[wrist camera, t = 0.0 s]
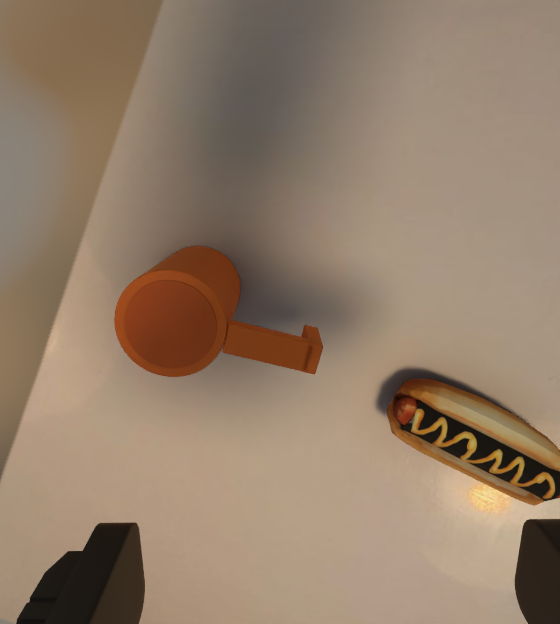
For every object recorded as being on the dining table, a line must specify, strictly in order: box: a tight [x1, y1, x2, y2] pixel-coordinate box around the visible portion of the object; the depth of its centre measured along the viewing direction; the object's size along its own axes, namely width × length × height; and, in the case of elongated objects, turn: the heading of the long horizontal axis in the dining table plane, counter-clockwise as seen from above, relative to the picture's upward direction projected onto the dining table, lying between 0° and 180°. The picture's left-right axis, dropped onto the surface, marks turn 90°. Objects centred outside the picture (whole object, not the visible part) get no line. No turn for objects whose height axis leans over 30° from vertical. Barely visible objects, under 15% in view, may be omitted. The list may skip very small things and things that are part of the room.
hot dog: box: [387, 379, 560, 505], centre depth 32 cm, size 5×13×5 cm, turn 62°
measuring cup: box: [115, 246, 323, 377], centre depth 27 cm, size 10×6×9 cm, turn 76°
